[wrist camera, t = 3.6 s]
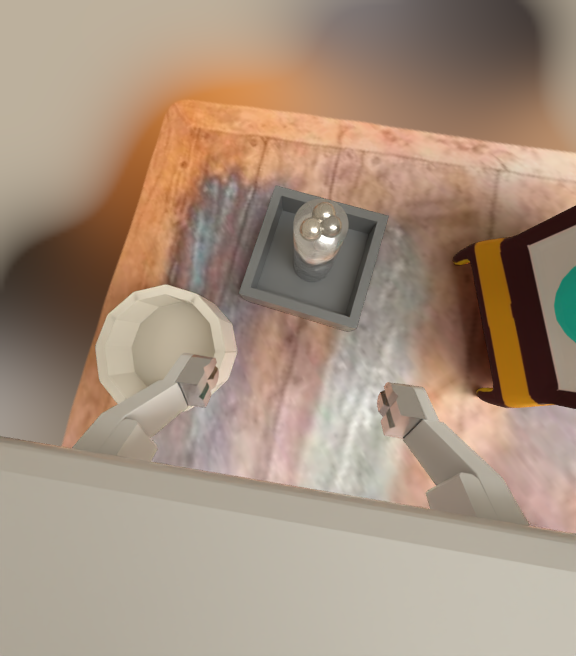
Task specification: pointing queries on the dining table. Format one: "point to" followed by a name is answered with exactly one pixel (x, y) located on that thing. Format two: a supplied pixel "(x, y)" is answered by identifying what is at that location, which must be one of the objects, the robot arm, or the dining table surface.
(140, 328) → the bowl
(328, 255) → the pebble cup
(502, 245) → the decorative lantern
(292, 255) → the tray
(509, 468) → the dining table surface
